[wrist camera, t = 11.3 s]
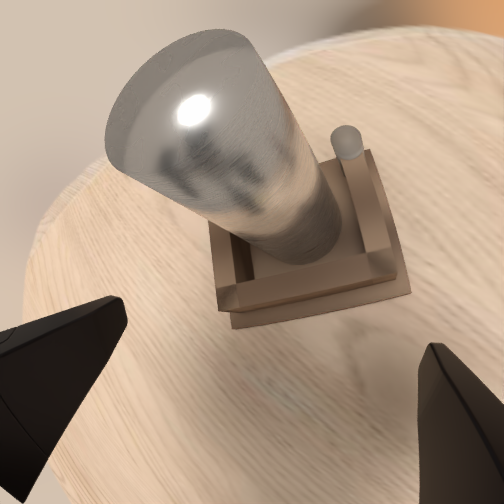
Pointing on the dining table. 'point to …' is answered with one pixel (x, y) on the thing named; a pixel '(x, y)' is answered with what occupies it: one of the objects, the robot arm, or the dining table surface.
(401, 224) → the dining table surface
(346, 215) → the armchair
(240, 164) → the grey cylinder
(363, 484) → the dining table surface
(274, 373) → the dining table surface
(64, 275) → the dining table surface
